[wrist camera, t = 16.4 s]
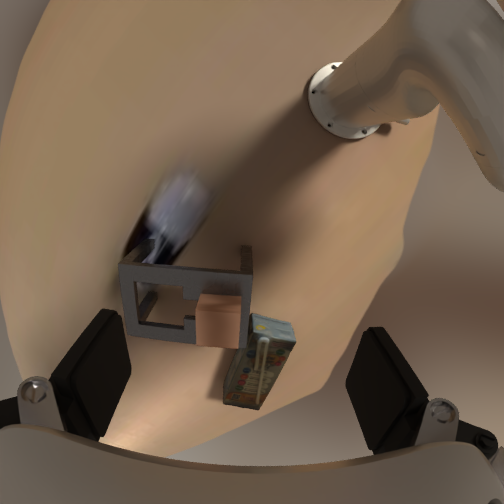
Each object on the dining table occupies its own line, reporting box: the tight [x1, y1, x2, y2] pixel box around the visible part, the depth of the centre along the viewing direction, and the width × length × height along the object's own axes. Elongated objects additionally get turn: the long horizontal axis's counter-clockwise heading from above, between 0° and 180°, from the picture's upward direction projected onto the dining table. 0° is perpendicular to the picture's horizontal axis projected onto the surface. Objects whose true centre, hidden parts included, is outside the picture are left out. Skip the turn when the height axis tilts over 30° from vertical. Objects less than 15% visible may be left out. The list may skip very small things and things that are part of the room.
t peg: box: [195, 294, 241, 349], centre depth 36 cm, size 5×5×10 cm
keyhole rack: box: [118, 239, 253, 348], centre depth 40 cm, size 17×11×11 cm, turn 85°
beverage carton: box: [223, 313, 296, 410], centre depth 48 cm, size 8×19×7 cm, turn 162°
